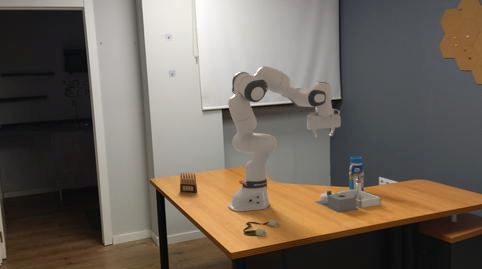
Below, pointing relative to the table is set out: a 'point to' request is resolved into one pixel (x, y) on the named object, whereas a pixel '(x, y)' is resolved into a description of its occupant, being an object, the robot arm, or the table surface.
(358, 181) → the lock pin
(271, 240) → the table surface
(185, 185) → the ammunition clip
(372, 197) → the tray
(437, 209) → the table surface
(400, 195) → the table surface
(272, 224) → the cable
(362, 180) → the beverage bottle
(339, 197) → the grey rectangular block
